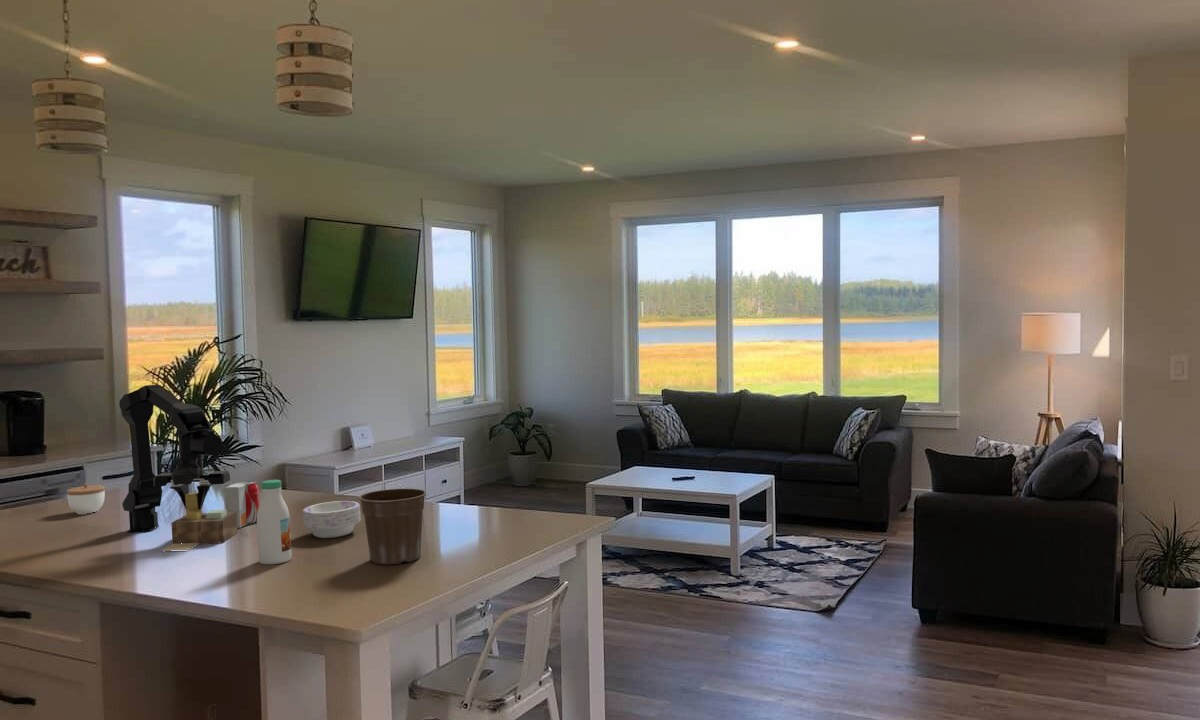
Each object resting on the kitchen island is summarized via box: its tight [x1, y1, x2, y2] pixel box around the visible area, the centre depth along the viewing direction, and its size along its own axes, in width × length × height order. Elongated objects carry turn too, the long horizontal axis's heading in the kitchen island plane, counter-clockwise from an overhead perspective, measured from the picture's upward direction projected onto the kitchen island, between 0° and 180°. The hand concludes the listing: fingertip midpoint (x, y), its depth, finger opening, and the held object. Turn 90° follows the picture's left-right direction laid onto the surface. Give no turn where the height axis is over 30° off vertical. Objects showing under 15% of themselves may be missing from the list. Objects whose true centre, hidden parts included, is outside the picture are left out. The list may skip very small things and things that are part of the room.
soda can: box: [234, 480, 261, 525], centre depth 274 cm, size 7×7×12 cm
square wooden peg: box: [185, 492, 203, 520], centre depth 255 cm, size 3×3×9 cm
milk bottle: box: [256, 479, 293, 565], centre depth 229 cm, size 8×8×20 cm
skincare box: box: [224, 483, 249, 529], centre depth 269 cm, size 6×4×12 cm
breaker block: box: [171, 512, 238, 544], centre depth 255 cm, size 14×11×6 cm
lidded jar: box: [66, 482, 106, 515], centre depth 296 cm, size 11×11×9 cm
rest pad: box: [160, 543, 199, 552], centre depth 246 cm, size 7×7×1 cm
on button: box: [205, 509, 227, 519], centre depth 255 cm, size 4×4×3 cm
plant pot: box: [358, 488, 427, 566], centre depth 228 cm, size 16×16×16 cm
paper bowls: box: [302, 500, 362, 539], centre depth 256 cm, size 15×15×8 cm
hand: (193, 509), depth 255 cm, fingers closed on square wooden peg, 3 cm apart
